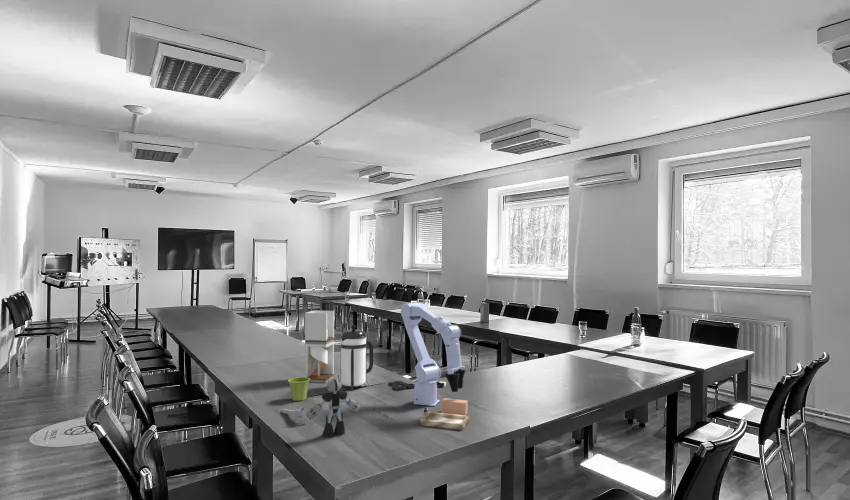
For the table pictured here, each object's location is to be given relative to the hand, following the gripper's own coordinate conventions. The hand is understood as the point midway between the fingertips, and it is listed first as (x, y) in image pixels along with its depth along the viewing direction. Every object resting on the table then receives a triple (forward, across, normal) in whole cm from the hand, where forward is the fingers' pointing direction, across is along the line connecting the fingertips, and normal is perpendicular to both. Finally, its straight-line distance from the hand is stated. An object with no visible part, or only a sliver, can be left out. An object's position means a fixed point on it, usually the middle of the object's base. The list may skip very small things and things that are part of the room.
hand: (457, 390), depth 186 cm
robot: (+7, -36, +36) cm, 51 cm away
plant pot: (0, -4, +72) cm, 72 cm away
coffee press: (0, +24, +59) cm, 63 cm away
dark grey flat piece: (+3, +34, +30) cm, 46 cm away
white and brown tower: (-4, +29, +81) cm, 87 cm away
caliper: (+3, -26, +60) cm, 65 cm away
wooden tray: (+10, -13, +2) cm, 16 cm away
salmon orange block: (+9, 0, +2) cm, 9 cm away
